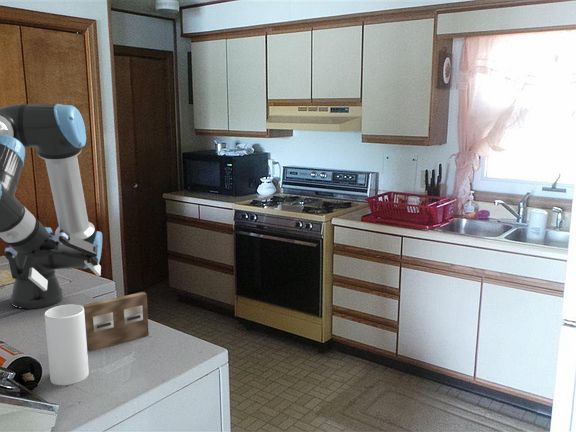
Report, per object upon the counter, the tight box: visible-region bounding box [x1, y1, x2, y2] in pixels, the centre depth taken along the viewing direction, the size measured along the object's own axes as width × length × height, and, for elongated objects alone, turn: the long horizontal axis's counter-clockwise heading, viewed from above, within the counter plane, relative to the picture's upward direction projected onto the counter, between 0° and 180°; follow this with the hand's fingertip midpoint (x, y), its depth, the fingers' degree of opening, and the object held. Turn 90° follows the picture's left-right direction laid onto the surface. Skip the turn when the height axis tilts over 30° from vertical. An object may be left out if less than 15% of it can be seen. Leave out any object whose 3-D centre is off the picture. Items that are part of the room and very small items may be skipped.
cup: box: [44, 304, 90, 386], centre depth 118 cm, size 8×8×16 cm
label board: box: [83, 291, 150, 352], centre depth 138 cm, size 16×8×12 cm, turn 128°
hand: (72, 278), depth 125 cm, fingers open, 13 cm apart
